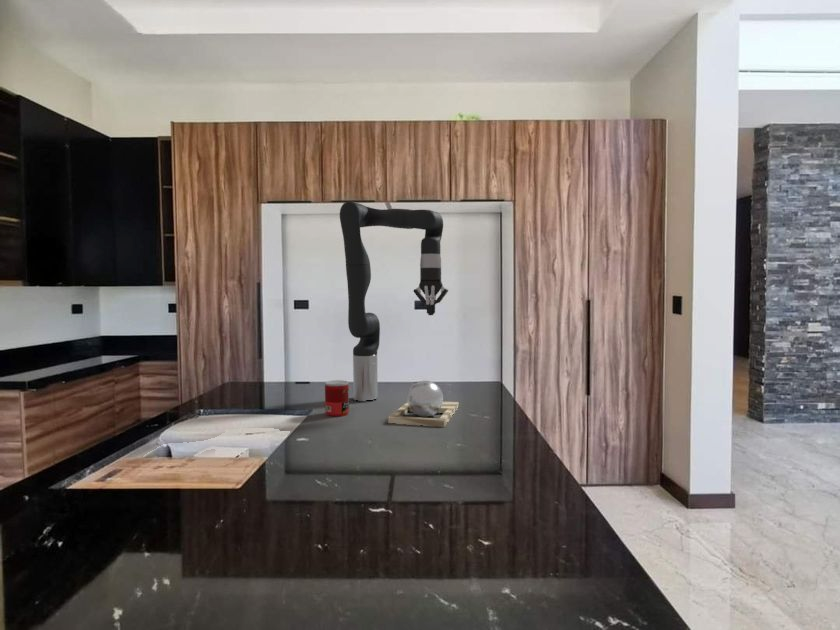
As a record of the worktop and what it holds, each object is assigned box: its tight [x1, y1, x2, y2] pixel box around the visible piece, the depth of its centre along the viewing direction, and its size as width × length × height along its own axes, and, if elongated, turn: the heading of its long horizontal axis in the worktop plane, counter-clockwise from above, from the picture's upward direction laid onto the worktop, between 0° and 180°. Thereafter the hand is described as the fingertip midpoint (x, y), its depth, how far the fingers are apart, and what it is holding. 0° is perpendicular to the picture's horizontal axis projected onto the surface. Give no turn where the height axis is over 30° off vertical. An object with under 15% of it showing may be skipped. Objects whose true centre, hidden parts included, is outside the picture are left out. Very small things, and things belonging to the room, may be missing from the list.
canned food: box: [324, 379, 350, 418], centre depth 176 cm, size 8×8×11 cm
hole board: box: [387, 400, 460, 428], centre depth 174 cm, size 26×18×2 cm
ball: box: [406, 380, 444, 418], centre depth 172 cm, size 12×12×12 cm
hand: (430, 315), depth 186 cm, fingers closed
